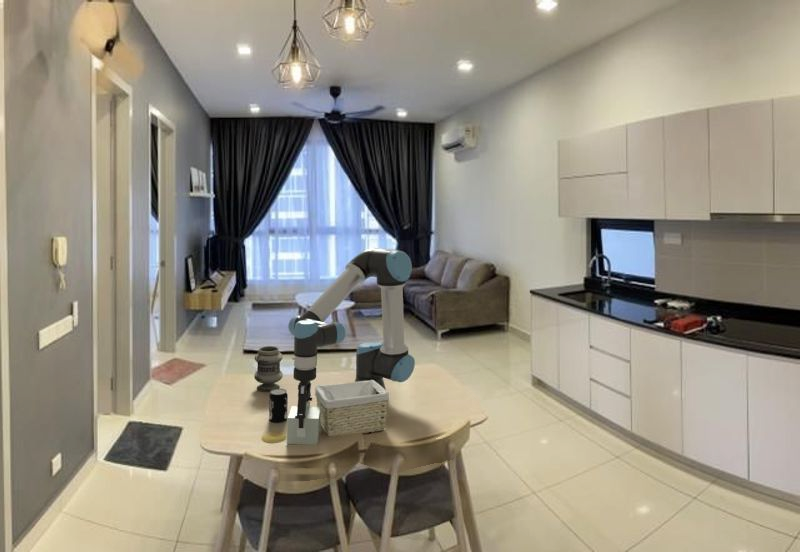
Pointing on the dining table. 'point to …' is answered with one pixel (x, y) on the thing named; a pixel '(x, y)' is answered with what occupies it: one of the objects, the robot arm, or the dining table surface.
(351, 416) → the storage basket
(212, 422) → the dining table surface
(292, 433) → the cover
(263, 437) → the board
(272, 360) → the apothecary jar
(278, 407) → the beverage can
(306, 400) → the robot arm
